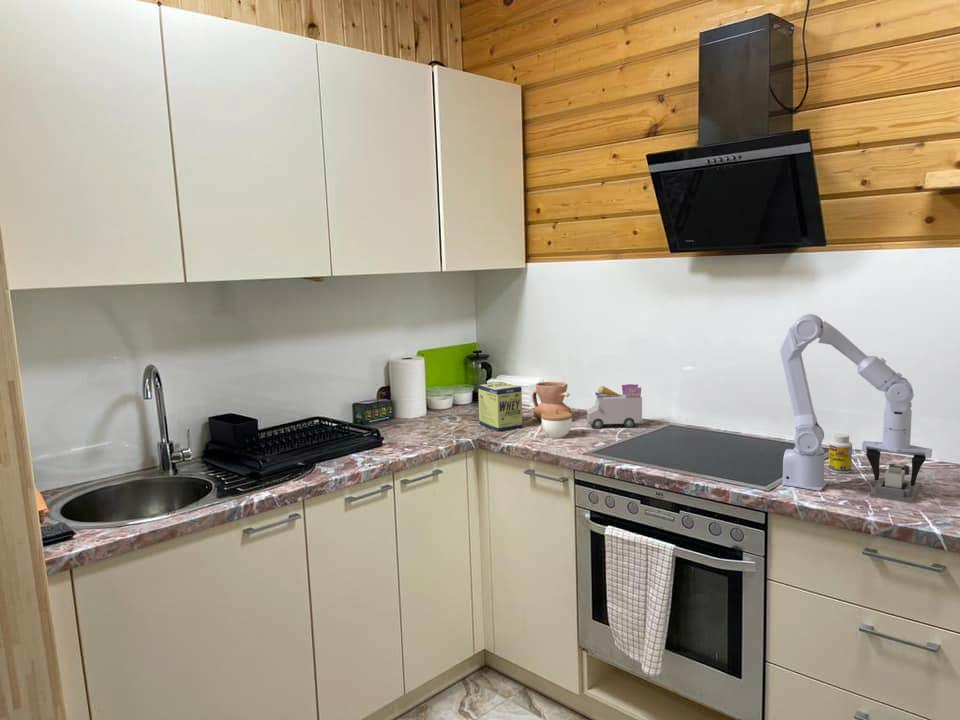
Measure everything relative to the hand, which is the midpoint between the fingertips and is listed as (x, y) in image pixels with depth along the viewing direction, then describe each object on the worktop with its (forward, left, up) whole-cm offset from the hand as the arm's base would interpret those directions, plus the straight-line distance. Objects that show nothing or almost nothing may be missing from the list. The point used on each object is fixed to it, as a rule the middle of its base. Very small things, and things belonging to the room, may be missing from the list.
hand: (894, 482), depth 170 cm
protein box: (-129, +10, -3) cm, 129 cm away
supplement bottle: (-15, +14, -3) cm, 21 cm away
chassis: (0, +3, -3) cm, 4 cm away
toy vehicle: (-93, +31, -3) cm, 98 cm away
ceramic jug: (-119, +29, -3) cm, 123 cm away
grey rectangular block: (0, 0, -2) cm, 2 cm away
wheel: (0, +7, +1) cm, 7 cm away
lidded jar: (-103, +8, -3) cm, 103 cm away
